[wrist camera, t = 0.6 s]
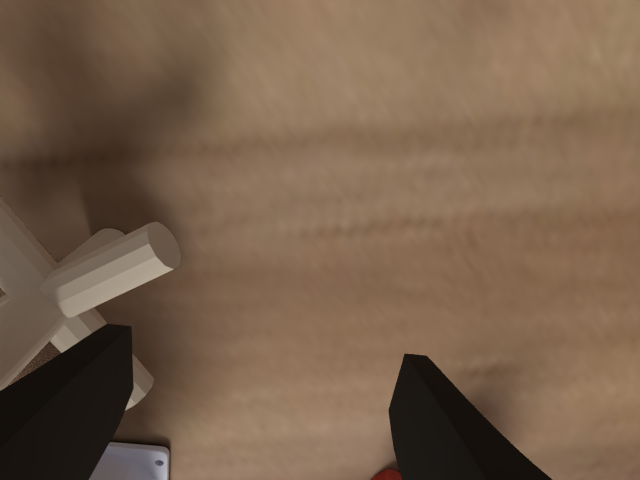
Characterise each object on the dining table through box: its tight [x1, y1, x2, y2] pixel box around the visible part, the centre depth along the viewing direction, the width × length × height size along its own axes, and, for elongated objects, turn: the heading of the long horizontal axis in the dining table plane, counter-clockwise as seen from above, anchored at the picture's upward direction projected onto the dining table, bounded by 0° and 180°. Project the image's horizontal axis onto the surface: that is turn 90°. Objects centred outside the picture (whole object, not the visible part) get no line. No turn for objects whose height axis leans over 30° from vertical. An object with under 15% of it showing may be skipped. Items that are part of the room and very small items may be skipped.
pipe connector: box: [0, 196, 182, 411], centre depth 15 cm, size 10×10×10 cm
